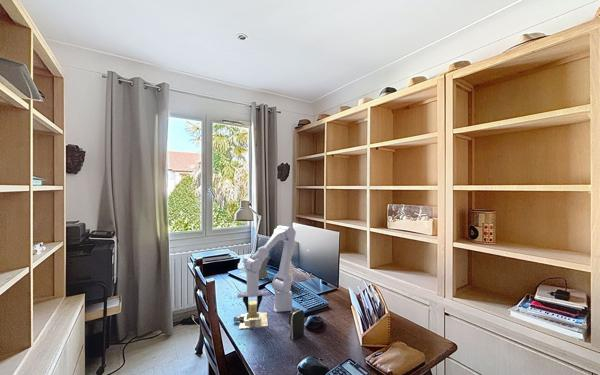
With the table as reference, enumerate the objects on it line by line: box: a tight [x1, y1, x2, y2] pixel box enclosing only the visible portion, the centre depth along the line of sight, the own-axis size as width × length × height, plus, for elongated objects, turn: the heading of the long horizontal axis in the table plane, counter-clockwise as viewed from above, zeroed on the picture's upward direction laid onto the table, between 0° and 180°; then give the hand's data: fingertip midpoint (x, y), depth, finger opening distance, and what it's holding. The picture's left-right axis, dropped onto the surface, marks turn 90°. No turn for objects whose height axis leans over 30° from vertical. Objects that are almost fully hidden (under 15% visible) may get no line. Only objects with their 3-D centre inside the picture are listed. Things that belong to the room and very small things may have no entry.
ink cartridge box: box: [289, 263, 294, 285], centre depth 169 cm, size 9×5×15 cm, turn 148°
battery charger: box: [288, 308, 305, 341], centre depth 115 cm, size 7×4×11 cm, turn 134°
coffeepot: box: [248, 255, 272, 279], centre depth 187 cm, size 15×9×18 cm, turn 88°
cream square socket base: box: [233, 311, 269, 331], centre depth 126 cm, size 16×15×3 cm
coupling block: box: [248, 300, 257, 318], centre depth 127 cm, size 4×5×6 cm
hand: (252, 311), depth 128 cm, fingers closed on coupling block, 4 cm apart
